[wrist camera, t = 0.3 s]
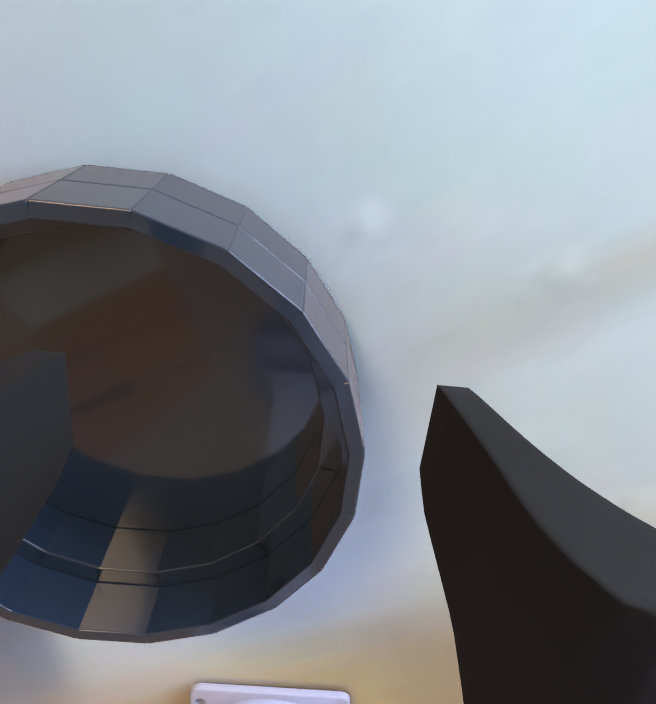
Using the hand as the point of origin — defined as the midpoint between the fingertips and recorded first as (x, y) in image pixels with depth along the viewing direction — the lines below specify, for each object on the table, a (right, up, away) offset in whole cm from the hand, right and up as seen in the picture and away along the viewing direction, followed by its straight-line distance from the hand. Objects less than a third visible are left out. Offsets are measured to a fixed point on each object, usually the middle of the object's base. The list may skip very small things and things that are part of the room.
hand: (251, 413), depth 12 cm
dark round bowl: (-5, 0, +11) cm, 12 cm away
